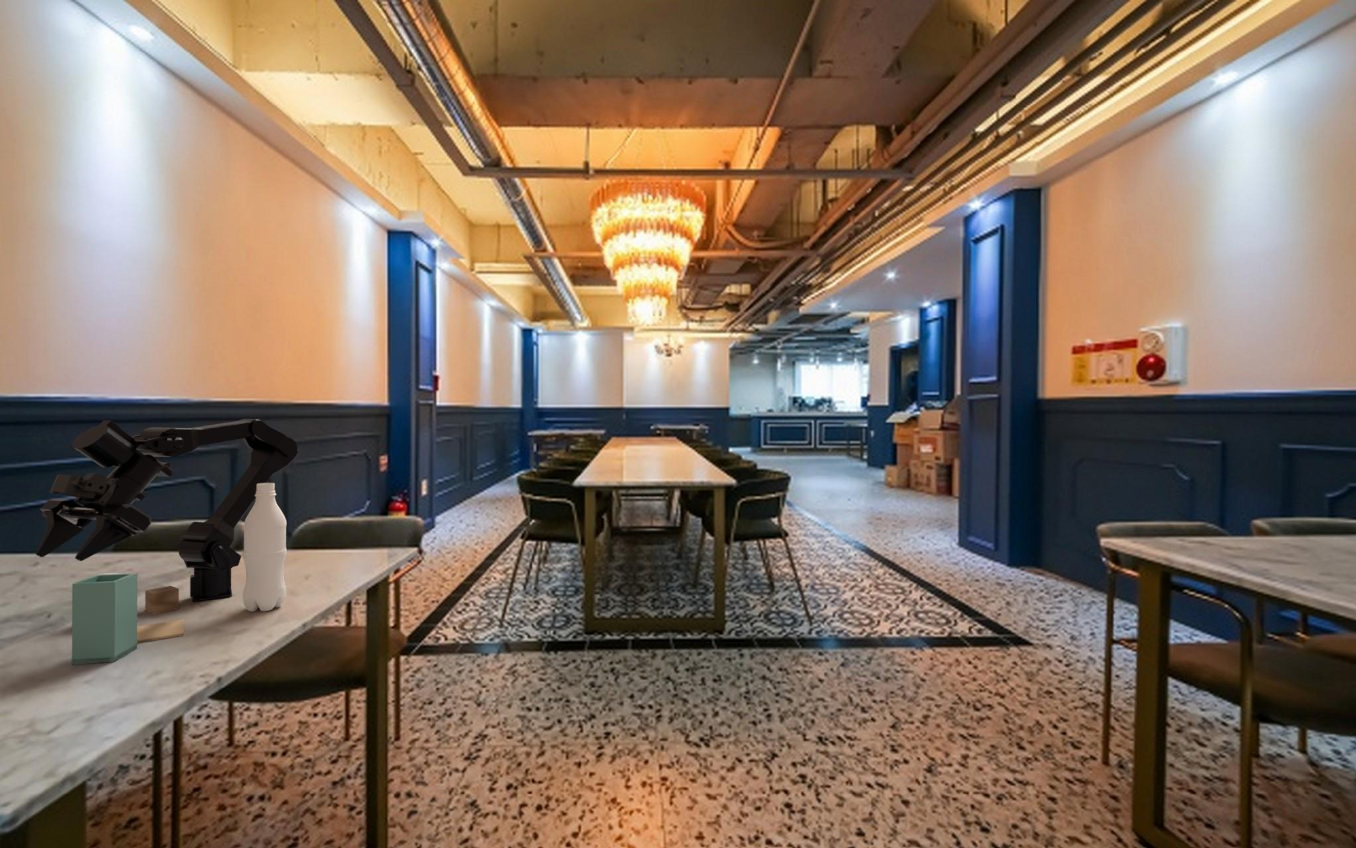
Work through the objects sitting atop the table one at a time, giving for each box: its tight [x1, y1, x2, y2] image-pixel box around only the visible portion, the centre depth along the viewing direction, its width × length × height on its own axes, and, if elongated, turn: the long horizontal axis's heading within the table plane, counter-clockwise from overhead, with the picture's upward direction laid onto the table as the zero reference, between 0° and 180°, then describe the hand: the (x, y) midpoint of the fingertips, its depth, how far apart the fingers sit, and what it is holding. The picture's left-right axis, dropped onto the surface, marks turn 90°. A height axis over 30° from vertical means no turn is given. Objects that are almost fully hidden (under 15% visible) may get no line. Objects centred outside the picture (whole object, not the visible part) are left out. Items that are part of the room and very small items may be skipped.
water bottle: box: [242, 482, 288, 613], centre depth 120 cm, size 7×7×25 cm
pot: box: [71, 572, 139, 666], centre depth 96 cm, size 6×6×12 cm
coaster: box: [137, 618, 185, 644], centre depth 106 cm, size 9×9×1 cm
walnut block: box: [144, 585, 180, 615], centre depth 119 cm, size 4×4×4 cm
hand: (58, 557), depth 102 cm, fingers open, 9 cm apart
